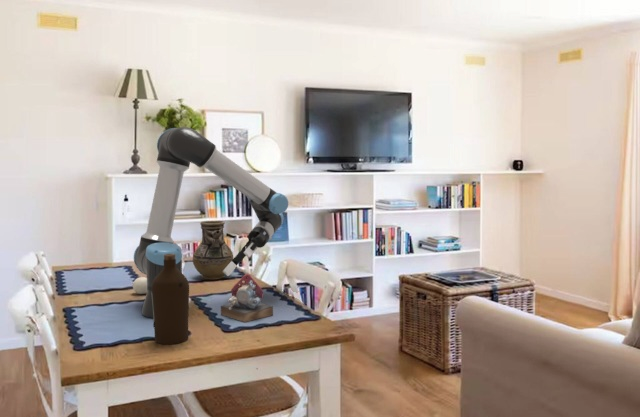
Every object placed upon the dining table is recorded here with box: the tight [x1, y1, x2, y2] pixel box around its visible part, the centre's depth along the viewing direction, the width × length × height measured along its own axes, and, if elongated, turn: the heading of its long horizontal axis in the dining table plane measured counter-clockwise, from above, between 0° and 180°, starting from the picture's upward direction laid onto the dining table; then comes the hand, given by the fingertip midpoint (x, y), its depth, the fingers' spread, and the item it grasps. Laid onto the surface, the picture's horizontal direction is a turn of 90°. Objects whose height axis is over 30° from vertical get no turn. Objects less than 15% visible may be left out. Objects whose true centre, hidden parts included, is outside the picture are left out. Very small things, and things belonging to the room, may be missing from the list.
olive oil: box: [151, 254, 190, 345], centre depth 168 cm, size 11×11×25 cm
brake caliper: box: [227, 273, 264, 310], centre depth 193 cm, size 11×11×12 cm
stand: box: [220, 302, 274, 323], centre depth 196 cm, size 12×13×3 cm
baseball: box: [132, 276, 147, 295], centre depth 227 cm, size 7×7×7 cm
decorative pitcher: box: [192, 220, 234, 281], centre depth 257 cm, size 22×18×25 cm
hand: (235, 264), depth 206 cm, fingers open, 13 cm apart
